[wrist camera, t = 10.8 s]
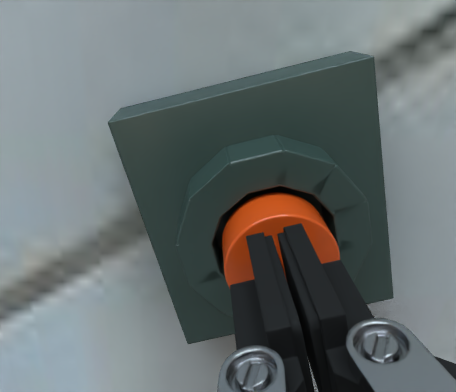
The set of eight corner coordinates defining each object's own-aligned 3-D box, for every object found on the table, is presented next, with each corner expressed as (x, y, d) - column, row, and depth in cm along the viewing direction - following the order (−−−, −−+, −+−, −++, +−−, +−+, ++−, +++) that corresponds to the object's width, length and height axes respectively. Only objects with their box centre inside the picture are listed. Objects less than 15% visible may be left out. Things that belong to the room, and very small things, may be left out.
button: (331, 270, 15) (347, 300, 13) (234, 292, 15) (238, 325, 13) (317, 180, 13) (333, 202, 12) (210, 205, 13) (211, 231, 12)
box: (373, 269, 19) (414, 328, 16) (189, 311, 20) (185, 378, 16) (351, 50, 15) (399, 61, 11) (119, 108, 16) (93, 136, 12)
